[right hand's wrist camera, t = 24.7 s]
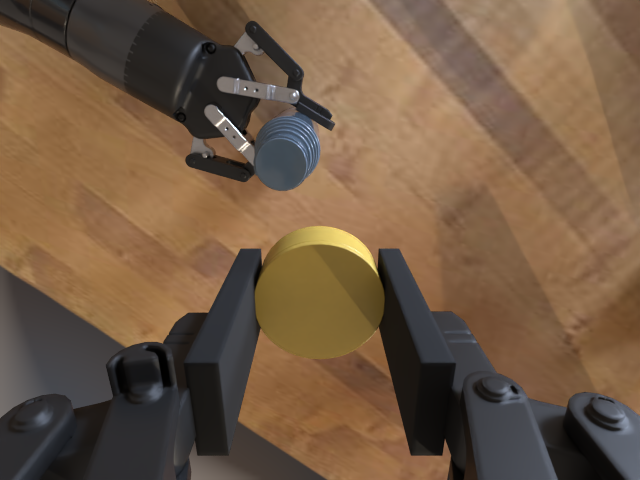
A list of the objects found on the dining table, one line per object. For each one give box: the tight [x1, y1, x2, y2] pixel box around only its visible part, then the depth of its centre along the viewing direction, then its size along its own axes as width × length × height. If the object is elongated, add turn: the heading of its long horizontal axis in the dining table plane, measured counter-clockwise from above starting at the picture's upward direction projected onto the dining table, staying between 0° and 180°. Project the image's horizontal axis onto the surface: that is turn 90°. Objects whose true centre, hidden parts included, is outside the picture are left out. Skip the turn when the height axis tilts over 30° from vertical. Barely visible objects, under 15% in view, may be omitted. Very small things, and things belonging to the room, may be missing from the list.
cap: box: [255, 226, 385, 359], centre depth 14 cm, size 4×4×2 cm
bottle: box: [253, 108, 320, 191], centre depth 33 cm, size 5×5×20 cm
